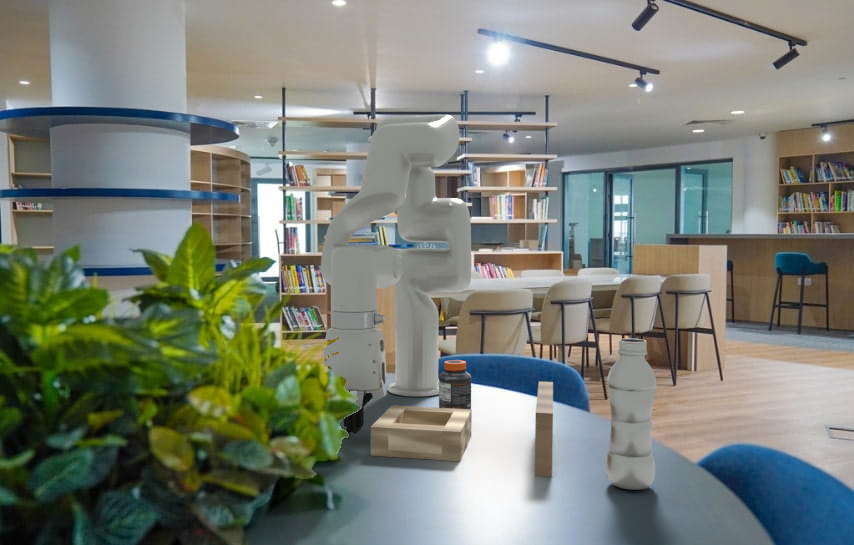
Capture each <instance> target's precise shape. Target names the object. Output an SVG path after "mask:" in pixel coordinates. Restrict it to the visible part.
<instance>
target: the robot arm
mask: <svg viewBox="0 0 854 545" xmlns="http://www.w3.org/2000/svg"><path fill="white" fill-rule="evenodd" d="M460 137H461V136H460V129H459V124H458V122H457V120H456V119H455V118H454V117H453V116H452V115H449V114H424V115H423V114H422V115H399V116H391V117H386V118H384V119H382V120H380V121H379V122H378V123H377V124H376V129H375V130H374V131H373V133H372V136H371V137H370V142H369V146H368V151H367V157H366V160H365V166H364V170H363V175H362V176H363V177H362V179H361V180H362V181H361V186H360V190H359V192H358V193H357V194H356V195H354V196H353V197H352V198H351V199H350V200H348V202H346V203H345V204H344V205H343V206H342V207H341V209H339V211H338V212H337V213H336V214H335V216H334V217H333V218H332V220H331V221H330V223H329V225H328V228H327V230H326V234H325V239H324V243H323V247H322V248H323V249H322V252H321V261H320V270H321V272H320V273H321V275H322V278H323V280H324V281H325V283H327V284H328V285H329V286H330V327H329V328H328V329H326V335H325V339H324V342H325V341H328V340H333V339H336V338H338V337H339V339H338V340H336V341H335V342H333V343H331V344H329V345H327V347H326V348H324V347H323V353H322V359H323V358H325V360H324V365H325V366H326V367H328V366H330V367H331V368H332V372H333V373H335V374H337V375H339V376H343V377H345V378H346V379H347V383H346V385H345V389H346V390H347V391H349V392H350V393H351V394H352V392H356V396H357V397H358V400H356V399H355V402H354V404H355V403H357V404H359V405H360V406H361V409H360V410H359V411H358V412H356V413H354V414H352V415H350V416H348V417H346V418H345V419H344V418H343V427H346V428H345V431H347V432H348V433H347V434H355V435H357V434H358V432H360V430H361V429H362V428H363V427H364V423H365V420H364V416H365V414H364V413H365V411H364V410H365V409H364V407H365V406H366V405H367V404H368V403H369V402H370V401H371V400H375V399H376V400H377V399H382V398H384V397H385V396H386V394H387V391H386V387H385V384H386V383H387V362H386V360H387V359H386V349H385V340H384V335H383V331H382V328H377V327H378V326H379V325H380V324H385V323H386V315H385V314H380V313H379V311H378V310H377V306H378V305H377V304H378V303H377V299H378V298H377V297H378V296H377V290H378V289H387V288H391V287H393V289H394V299H395V300H394V301H395V344H394V345H395V354H394V356H395V362H394V364H395V365H394V366H395V368H394V369H395V373H394V374H395V375H394V376H395V378H394V380H395V381H394V382H391V383H390V384H388V392H389V393H390V394H394V395H397V396H403V397H415V398H417V397H419V398H420V397H431V396H432V397H433V396H437V395H438V396H439V332H440V331H439V325H440V324H439V321H440V320H439V319H440V317H439V315H440V314H439V311H438V310H439V309H438V307H437V305H436V304H435V302H434V300H433V299H432V297H431V296H430V295H429V293H462V292H464V291H466V290H468V288H469V287H470V284H471V280H472V234H471V233H472V228H471V227H472V226H471V224H472V223H471V214H470V210H469V207H468V205H467V203H466V202H465V201H463V200H462V199H460V198H454V197H453V198H452V197H446V198H445V197H441V198H440V197H437V195H436V176H435V173H434V171H433V169H432V168H438V167H441V166H443V165H445V163H447V161H449V159H451V158H452V157H453V156H454V154H455V153H456V152H457V150H458V147H459V143H460ZM394 212H396V222H397V231H398V235H399V237H400V238H401V239H402V240H404V241H406V242H413V243H445V244H447V247H448V248H433V247H427V248H426V247H425V248H424V247H412V248H405V249H402V250H400V251H399V250H397V248H394V247H393V246H391V245H384V244H382V245H381V244H349V242H350V240H351V238H352V237H353V235H355V233H356V232H357V231H359V230H360V229H361V228H363V227H364V226H367V225H368V224H370V223H373V222H375V221H376V220H379V219H382V218H384V217H386V216H389V215H390V214H392V213H394ZM336 352H339V353H338V354H336V355H335V354H333V355H334V356H333V355H332V353H336ZM328 355H329V358H328ZM326 356H327V359H326ZM356 396H355V397H356Z"/></svg>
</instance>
